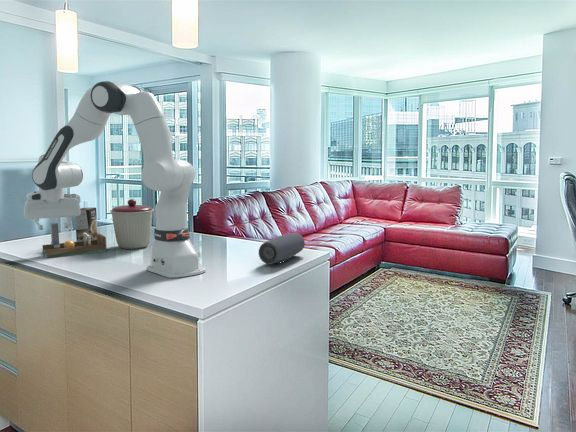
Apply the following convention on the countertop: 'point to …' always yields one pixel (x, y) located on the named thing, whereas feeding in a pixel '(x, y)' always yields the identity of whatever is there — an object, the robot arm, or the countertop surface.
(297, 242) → the bluetooth speaker
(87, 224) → the coffee box
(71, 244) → the ball
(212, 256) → the countertop surface
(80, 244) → the brown wooden tray
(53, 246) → the striker
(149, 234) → the canister
